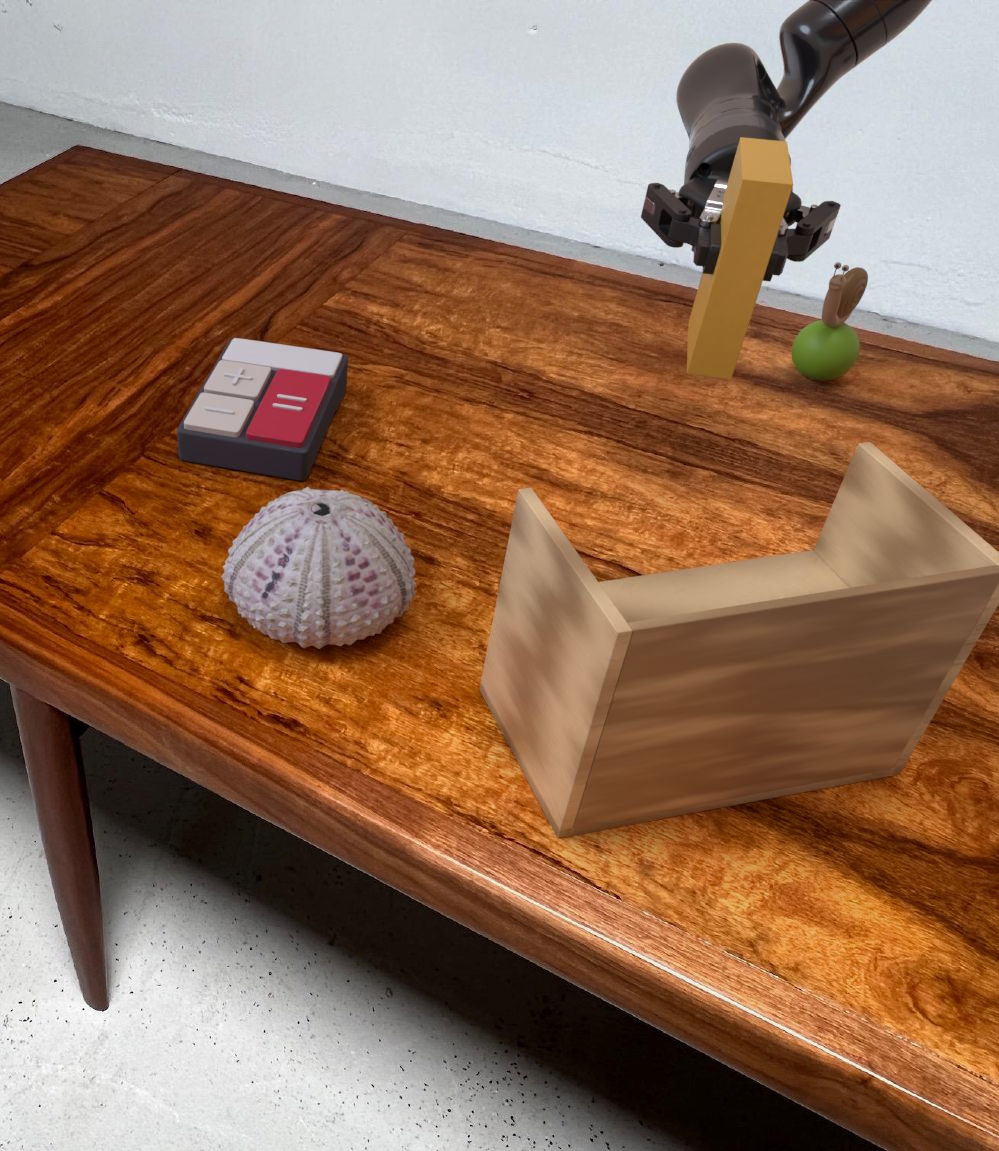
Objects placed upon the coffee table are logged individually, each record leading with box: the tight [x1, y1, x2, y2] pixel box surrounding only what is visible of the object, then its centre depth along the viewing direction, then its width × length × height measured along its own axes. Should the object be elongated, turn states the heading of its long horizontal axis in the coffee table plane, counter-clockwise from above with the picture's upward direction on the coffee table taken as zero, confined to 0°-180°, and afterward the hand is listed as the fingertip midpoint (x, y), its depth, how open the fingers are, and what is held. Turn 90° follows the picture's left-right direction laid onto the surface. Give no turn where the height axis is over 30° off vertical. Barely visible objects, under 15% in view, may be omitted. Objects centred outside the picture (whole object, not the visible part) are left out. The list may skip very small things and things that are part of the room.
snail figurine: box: [790, 261, 869, 382], centre depth 99 cm, size 5×6×12 cm
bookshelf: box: [479, 441, 999, 839], centre depth 65 cm, size 12×22×16 cm, turn 102°
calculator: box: [176, 337, 349, 482], centre depth 96 cm, size 11×4×15 cm
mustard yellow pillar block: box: [686, 137, 794, 381], centre depth 78 cm, size 3×8×14 cm, turn 162°
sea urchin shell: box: [220, 486, 417, 650], centre depth 77 cm, size 13×14×8 cm
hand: (740, 264), depth 75 cm, fingers closed on mustard yellow pillar block, 3 cm apart
